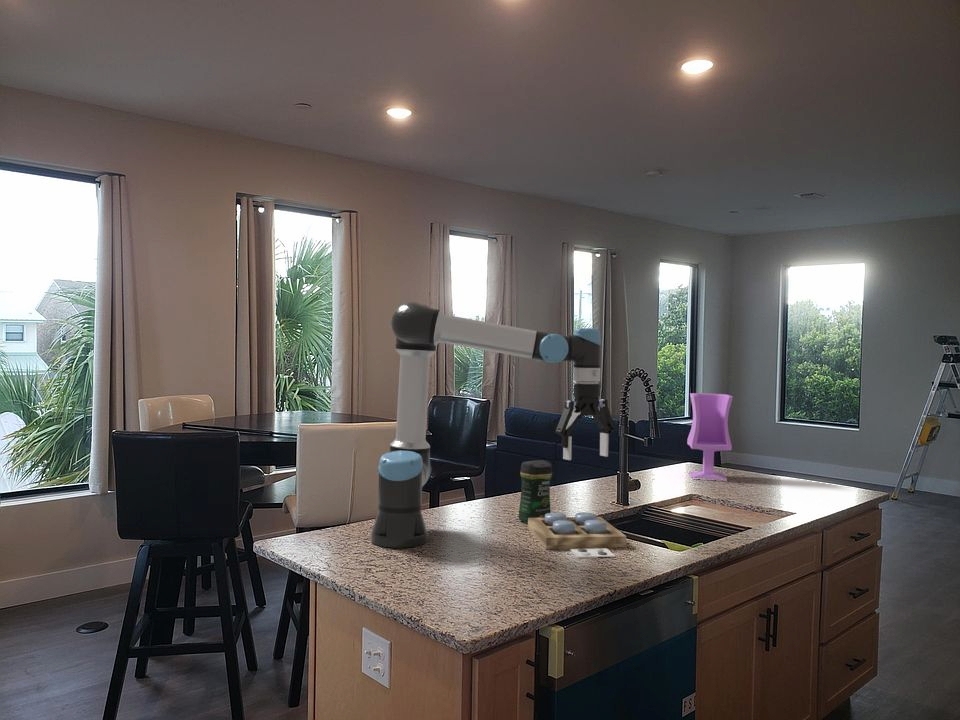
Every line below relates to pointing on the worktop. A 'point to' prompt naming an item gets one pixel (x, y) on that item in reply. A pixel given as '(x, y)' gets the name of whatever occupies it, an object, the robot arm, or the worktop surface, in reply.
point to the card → (592, 553)
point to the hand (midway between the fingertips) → (585, 457)
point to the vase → (709, 430)
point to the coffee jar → (535, 489)
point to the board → (575, 536)
